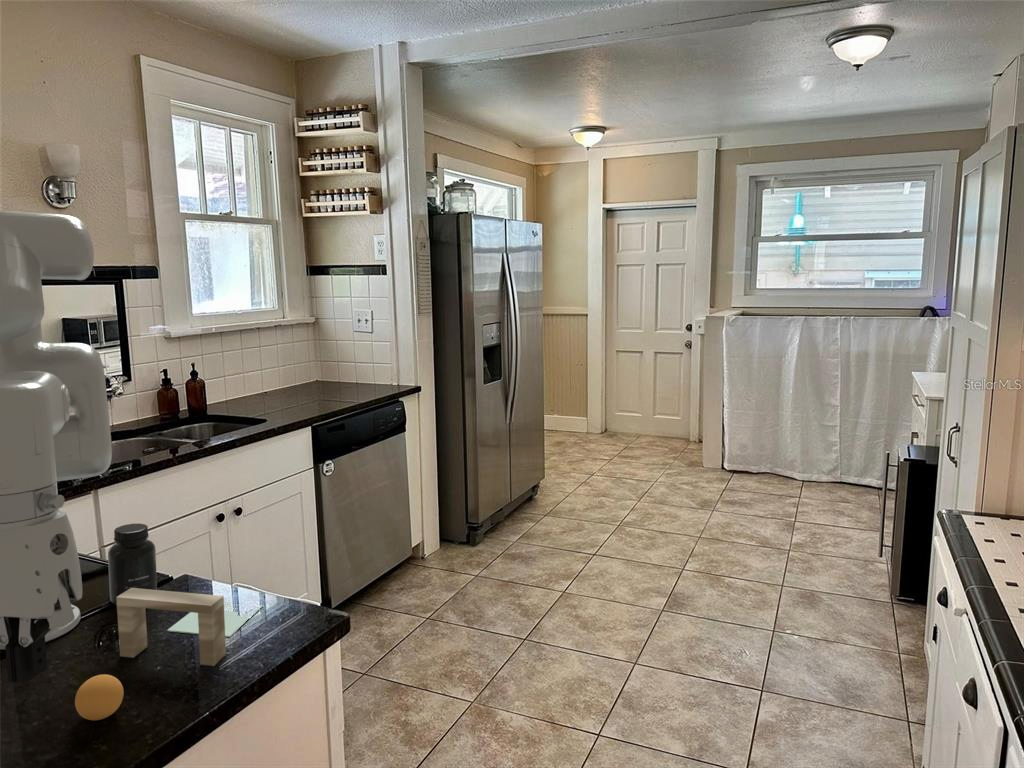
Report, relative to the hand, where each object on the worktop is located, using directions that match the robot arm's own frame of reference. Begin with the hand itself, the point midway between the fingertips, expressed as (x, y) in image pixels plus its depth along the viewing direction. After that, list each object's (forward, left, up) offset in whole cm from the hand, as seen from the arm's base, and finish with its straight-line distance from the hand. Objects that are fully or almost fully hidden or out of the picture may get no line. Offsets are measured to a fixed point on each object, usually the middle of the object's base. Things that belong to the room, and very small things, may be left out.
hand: (28, 675), depth 72 cm
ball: (0, +10, -9) cm, 13 cm away
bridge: (0, +24, -11) cm, 26 cm away
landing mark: (0, +35, -11) cm, 37 cm away
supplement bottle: (-17, +39, -11) cm, 44 cm away
